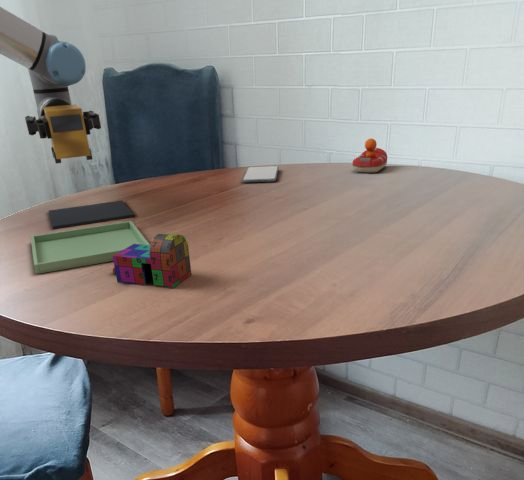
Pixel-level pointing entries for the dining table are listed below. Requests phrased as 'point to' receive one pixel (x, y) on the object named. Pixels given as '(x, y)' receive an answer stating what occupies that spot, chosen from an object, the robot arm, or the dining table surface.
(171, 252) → the block
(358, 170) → the toy boat
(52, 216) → the mat
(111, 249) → the box
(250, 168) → the smartphone
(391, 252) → the dining table surface
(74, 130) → the toy van
